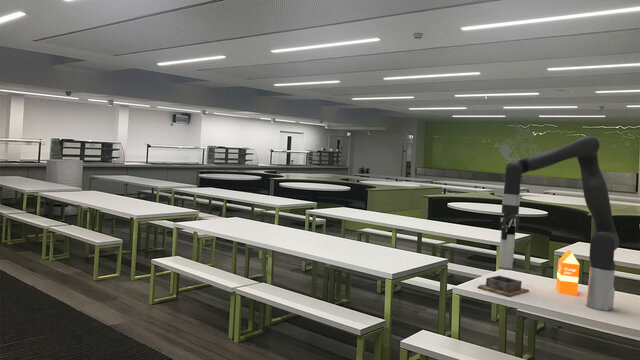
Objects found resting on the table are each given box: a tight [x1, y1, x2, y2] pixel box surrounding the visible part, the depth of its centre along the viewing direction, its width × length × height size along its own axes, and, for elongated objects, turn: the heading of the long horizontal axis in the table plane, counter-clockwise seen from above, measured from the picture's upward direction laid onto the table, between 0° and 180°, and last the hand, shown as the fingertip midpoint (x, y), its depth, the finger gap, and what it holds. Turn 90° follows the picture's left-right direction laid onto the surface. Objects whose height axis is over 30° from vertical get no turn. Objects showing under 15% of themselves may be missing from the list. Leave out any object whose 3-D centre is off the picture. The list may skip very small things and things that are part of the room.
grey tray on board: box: [477, 275, 530, 298], centre depth 221 cm, size 16×18×5 cm
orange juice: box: [555, 249, 581, 296], centre depth 226 cm, size 8×9×20 cm
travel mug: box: [497, 226, 516, 271], centre depth 221 cm, size 6×7×20 cm
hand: (507, 239), depth 220 cm, fingers closed on travel mug, 6 cm apart
